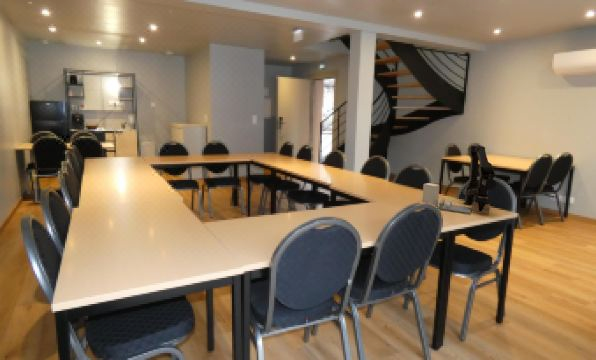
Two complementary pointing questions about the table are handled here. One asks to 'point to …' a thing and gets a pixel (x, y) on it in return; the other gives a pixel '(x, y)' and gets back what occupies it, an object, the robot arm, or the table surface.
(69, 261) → the table surface
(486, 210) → the tan rectangular box
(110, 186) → the table surface
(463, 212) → the board
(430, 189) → the skincare box
